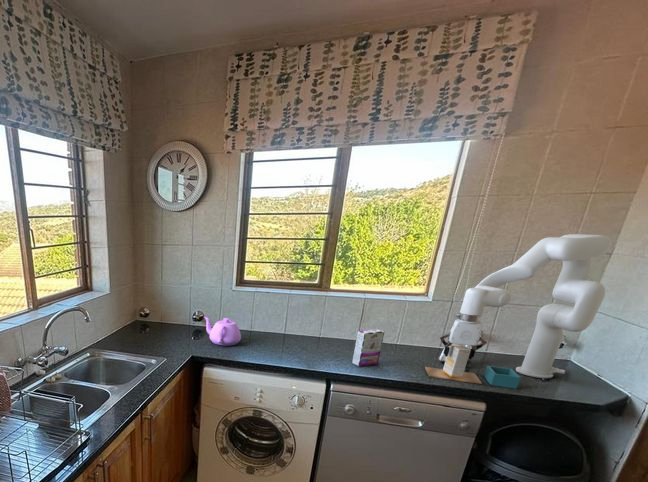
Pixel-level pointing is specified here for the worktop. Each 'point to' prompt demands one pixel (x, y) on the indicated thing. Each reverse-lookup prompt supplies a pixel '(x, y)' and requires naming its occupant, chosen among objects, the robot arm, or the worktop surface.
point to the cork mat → (440, 374)
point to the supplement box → (456, 360)
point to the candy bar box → (368, 347)
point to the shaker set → (443, 357)
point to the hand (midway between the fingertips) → (457, 356)
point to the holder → (502, 377)
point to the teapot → (224, 332)
